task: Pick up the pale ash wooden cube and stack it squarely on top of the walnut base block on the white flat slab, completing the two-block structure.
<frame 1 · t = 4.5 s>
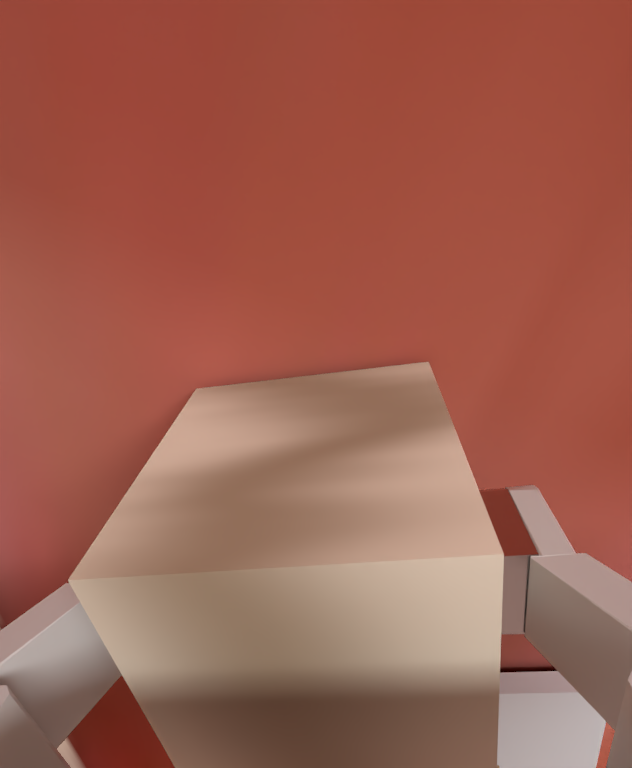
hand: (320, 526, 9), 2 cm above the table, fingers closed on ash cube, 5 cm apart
ash cube: (325, 470, 11), on the table, touching gripper
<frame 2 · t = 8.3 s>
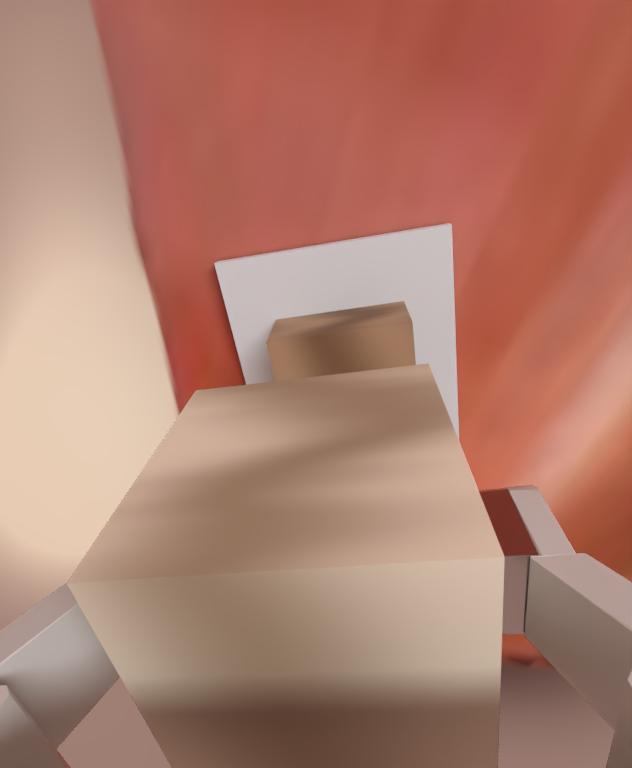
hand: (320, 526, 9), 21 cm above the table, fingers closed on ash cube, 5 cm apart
walnut base: (347, 381, 28), on the white flat slab, point 3 cm above the table
white flat slab: (347, 364, 30), on the table
ash cube: (325, 472, 11), point 19 cm above the table, touching gripper
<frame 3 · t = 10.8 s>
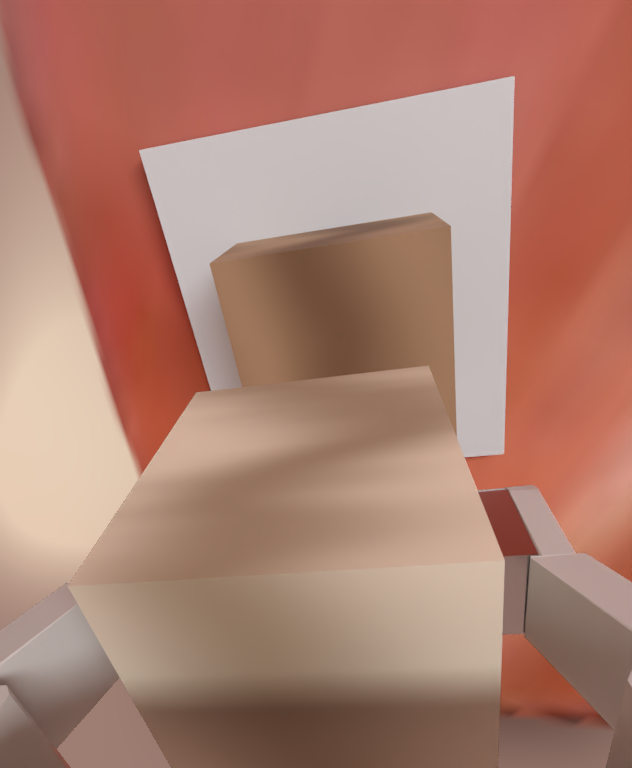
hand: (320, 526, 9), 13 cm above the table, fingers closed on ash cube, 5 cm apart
walnut base: (343, 337, 18), on the white flat slab, point 3 cm above the table
white flat slab: (344, 316, 20), on the table
ash cube: (326, 474, 11), point 11 cm above the table, touching gripper
when the fingers open (8 cm above the table, at t = 12.5 s): ash cube drops 1 cm, resting on walnut base.
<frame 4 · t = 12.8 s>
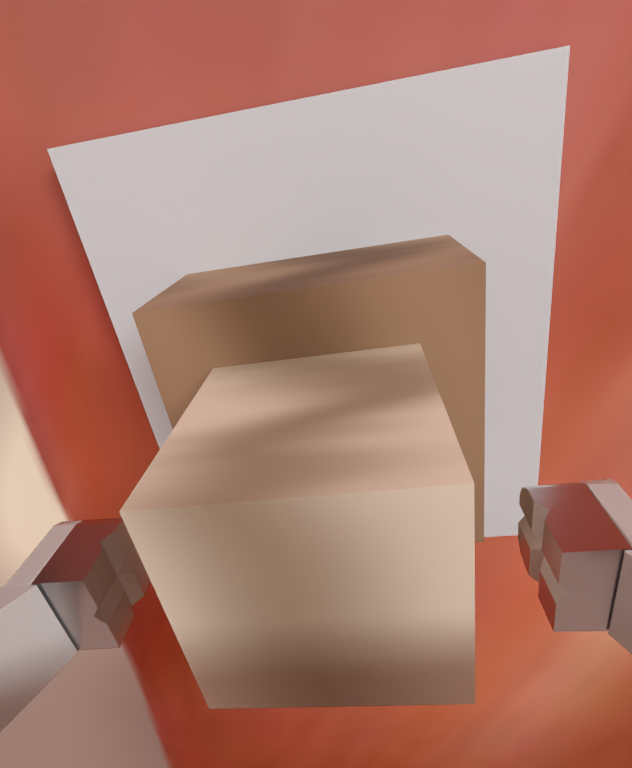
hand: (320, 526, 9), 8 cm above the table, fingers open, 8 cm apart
walnut base: (329, 402, 13), on the white flat slab, point 3 cm above the table
white flat slab: (332, 366, 16), on the table
ash cube: (328, 443, 12), point 5 cm above the table, touching walnut base
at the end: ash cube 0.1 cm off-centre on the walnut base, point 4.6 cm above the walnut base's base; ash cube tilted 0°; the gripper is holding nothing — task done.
